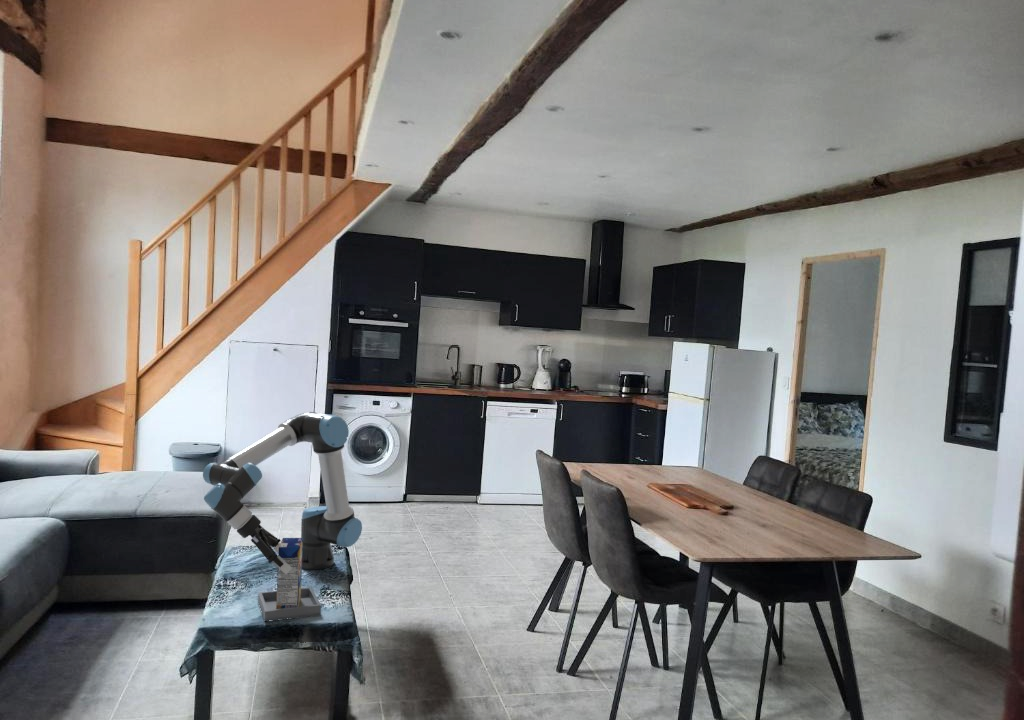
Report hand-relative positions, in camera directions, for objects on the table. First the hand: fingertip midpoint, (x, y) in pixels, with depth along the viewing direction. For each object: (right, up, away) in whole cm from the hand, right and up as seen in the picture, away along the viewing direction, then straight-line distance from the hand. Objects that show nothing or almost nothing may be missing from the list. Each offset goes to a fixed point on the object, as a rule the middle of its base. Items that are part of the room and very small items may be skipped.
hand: (289, 564), depth 248 cm
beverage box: (-1, -14, +1) cm, 15 cm away
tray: (-1, -15, +1) cm, 15 cm away
